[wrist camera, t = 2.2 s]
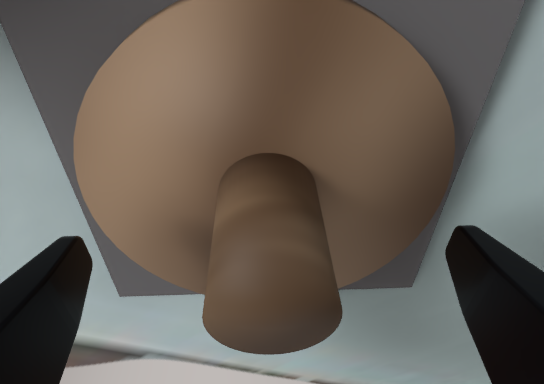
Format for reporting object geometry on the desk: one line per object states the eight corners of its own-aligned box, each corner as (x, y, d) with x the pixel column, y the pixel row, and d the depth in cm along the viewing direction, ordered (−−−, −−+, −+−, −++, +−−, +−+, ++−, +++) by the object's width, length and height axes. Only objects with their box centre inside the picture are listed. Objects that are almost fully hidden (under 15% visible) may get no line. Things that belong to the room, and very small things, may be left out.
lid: (497, -23, 8) (720, 50, 4) (398, 275, 15) (450, 412, 11) (21, -17, 8) (-206, 68, 4) (136, 284, 14) (92, 427, 10)
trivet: (533, -66, 8) (550, -64, 8) (407, 275, 16) (411, 287, 15) (-20, -66, 8) (-37, -64, 7) (123, 284, 15) (119, 296, 15)
